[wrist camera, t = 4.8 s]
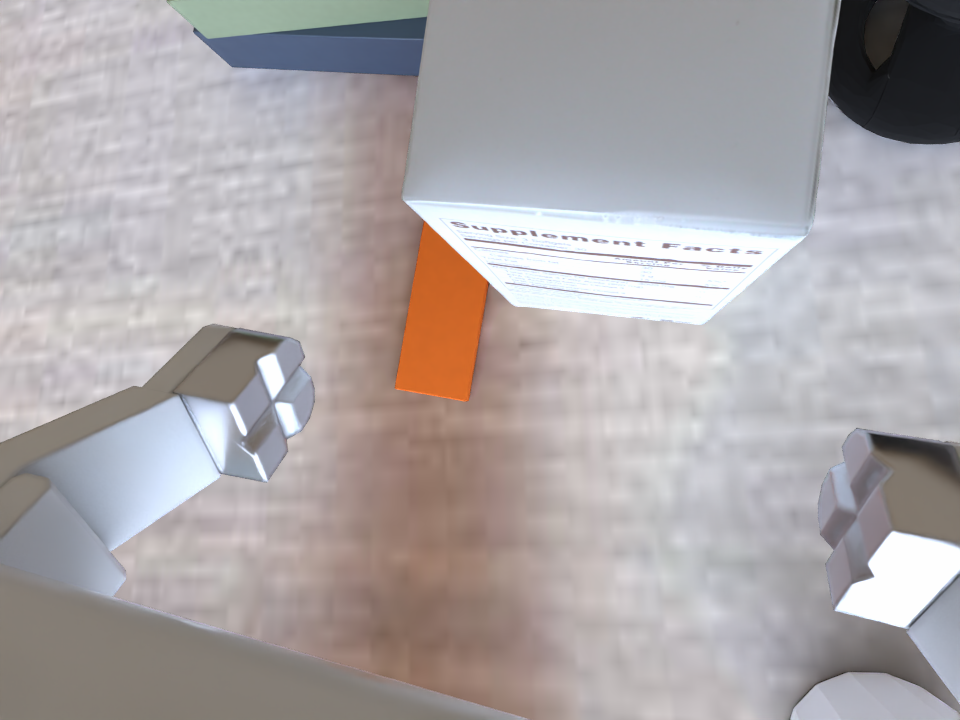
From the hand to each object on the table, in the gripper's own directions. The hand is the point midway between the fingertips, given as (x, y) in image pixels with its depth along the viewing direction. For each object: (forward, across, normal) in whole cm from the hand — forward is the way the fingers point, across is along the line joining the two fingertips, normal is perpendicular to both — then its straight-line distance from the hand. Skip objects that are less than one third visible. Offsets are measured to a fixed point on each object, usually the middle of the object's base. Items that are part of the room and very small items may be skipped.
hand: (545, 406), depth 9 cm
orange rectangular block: (+14, +6, +6) cm, 16 cm away
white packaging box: (+15, 0, +5) cm, 15 cm away
